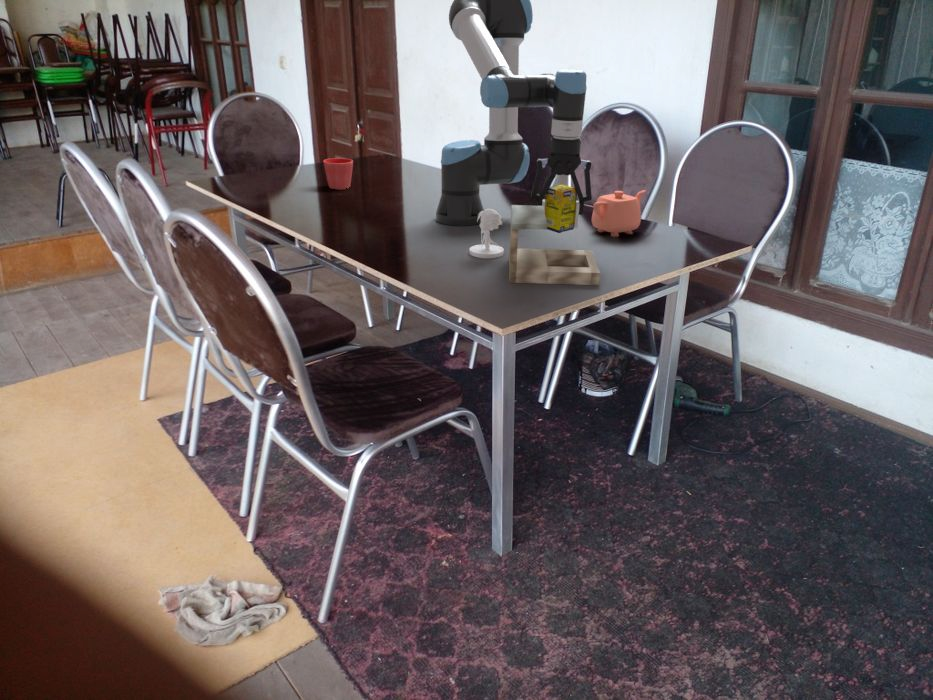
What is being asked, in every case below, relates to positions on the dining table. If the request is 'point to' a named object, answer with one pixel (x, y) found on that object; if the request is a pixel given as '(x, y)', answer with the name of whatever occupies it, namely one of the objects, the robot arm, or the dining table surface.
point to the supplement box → (560, 208)
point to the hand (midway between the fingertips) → (558, 225)
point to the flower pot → (338, 172)
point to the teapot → (617, 213)
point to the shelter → (546, 255)
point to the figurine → (488, 235)
